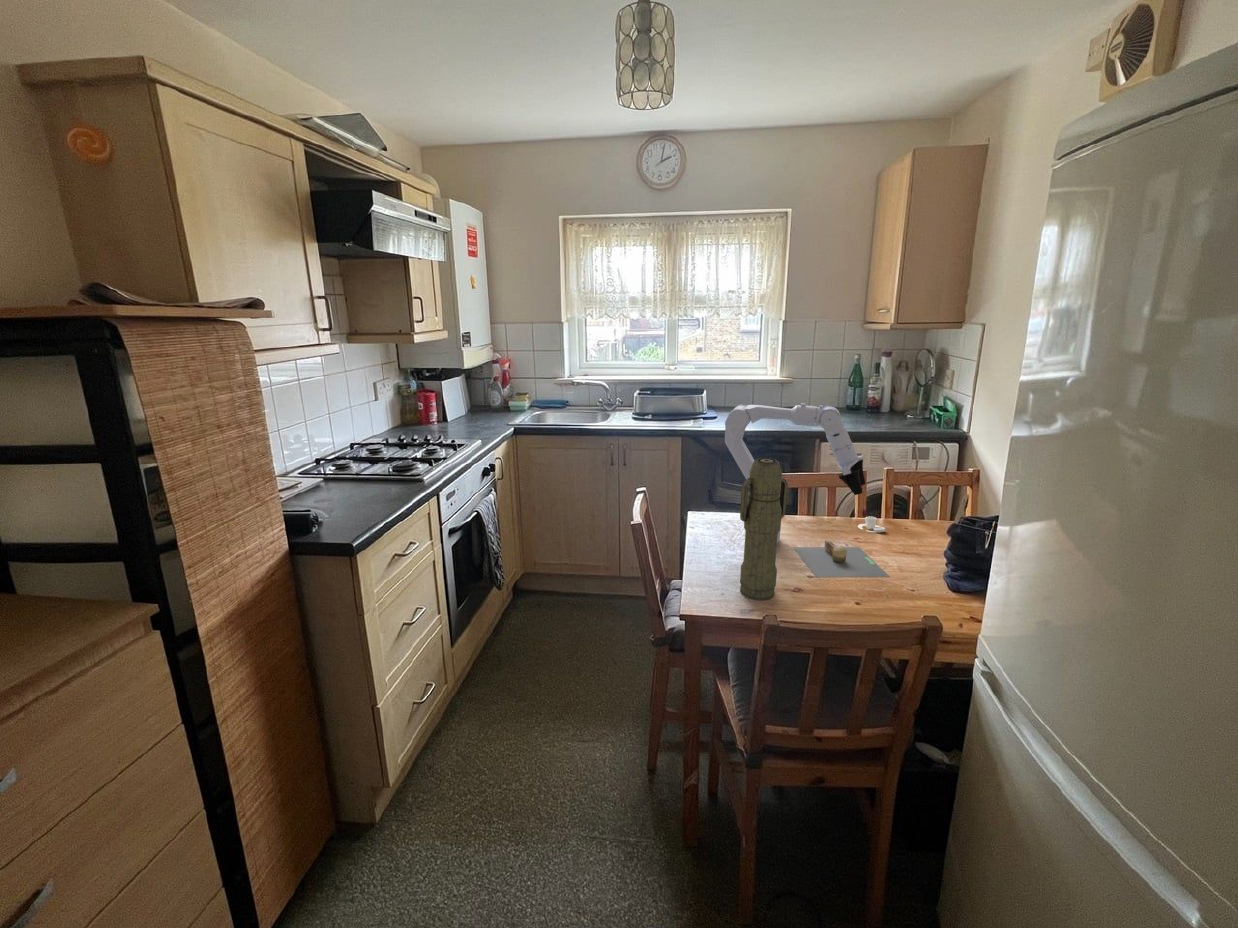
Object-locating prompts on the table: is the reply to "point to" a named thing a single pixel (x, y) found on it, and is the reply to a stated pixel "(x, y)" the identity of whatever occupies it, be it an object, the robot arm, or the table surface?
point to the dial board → (839, 563)
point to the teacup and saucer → (872, 525)
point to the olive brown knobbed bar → (835, 551)
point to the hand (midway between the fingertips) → (860, 489)
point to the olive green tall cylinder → (761, 527)
